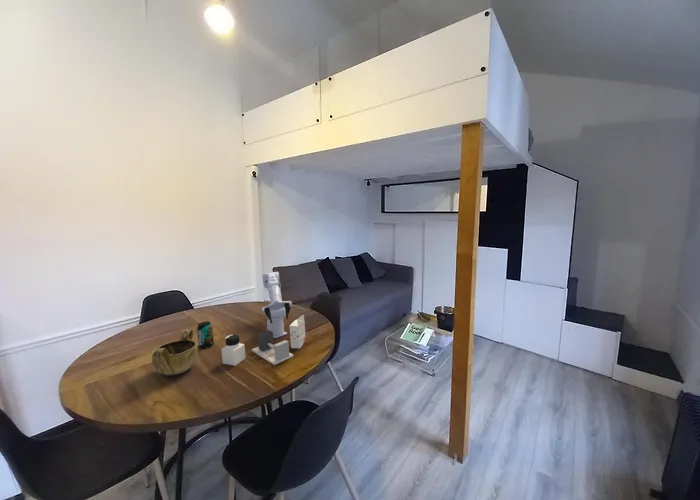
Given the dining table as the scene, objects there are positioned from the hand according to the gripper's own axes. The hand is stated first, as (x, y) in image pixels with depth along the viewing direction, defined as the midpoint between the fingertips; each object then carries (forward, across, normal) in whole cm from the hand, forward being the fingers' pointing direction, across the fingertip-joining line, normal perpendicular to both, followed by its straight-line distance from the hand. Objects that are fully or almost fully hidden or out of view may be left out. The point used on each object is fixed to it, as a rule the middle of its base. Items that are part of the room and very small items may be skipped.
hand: (279, 319), depth 138 cm
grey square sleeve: (+5, -9, +12) cm, 16 cm away
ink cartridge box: (+6, +6, +16) cm, 18 cm away
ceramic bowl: (+10, -46, +5) cm, 47 cm away
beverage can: (-9, -39, +18) cm, 44 cm away
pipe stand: (+10, -6, +11) cm, 16 cm away
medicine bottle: (+10, -23, +9) cm, 26 cm away
